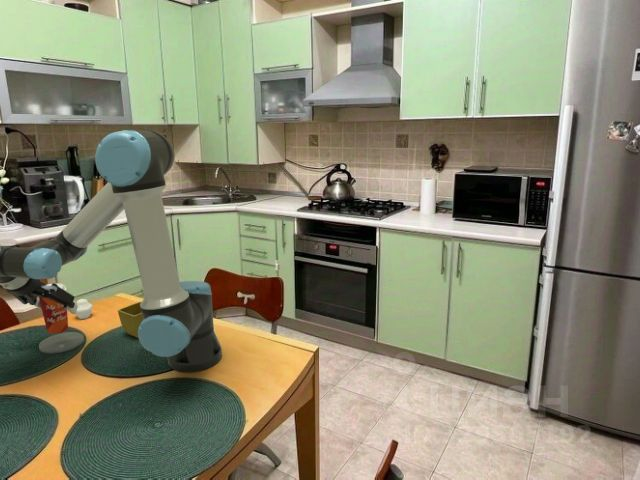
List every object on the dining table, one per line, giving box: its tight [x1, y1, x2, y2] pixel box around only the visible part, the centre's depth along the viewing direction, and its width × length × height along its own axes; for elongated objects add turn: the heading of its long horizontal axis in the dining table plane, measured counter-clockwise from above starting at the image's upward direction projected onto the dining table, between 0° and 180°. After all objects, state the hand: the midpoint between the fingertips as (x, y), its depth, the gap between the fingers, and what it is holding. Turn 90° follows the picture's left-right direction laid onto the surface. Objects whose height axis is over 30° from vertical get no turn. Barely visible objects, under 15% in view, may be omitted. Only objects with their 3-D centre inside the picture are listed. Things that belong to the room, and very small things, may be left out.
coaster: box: [38, 331, 84, 355], centre depth 138 cm, size 12×12×1 cm
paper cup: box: [38, 282, 69, 335], centre depth 135 cm, size 8×8×14 cm
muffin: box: [75, 298, 94, 320], centre depth 157 cm, size 6×6×7 cm
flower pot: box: [117, 301, 143, 339], centre depth 143 cm, size 9×9×9 cm
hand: (62, 309), depth 139 cm, fingers closed on paper cup, 8 cm apart
